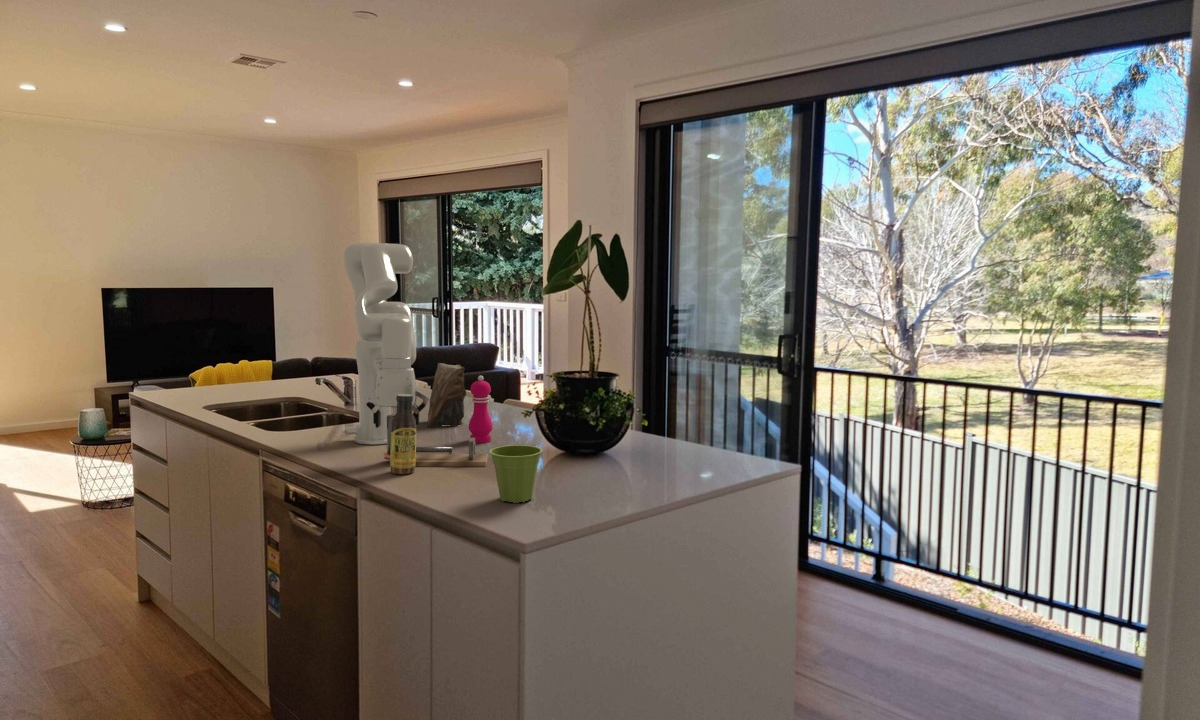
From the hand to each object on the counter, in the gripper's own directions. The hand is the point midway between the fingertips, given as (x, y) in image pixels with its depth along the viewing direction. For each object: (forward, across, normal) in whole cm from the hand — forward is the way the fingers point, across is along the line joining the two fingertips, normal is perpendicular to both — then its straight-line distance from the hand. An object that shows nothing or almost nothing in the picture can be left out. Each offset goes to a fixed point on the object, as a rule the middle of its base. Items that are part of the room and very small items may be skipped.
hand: (396, 426), depth 209 cm
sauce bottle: (+9, +4, -13) cm, 16 cm away
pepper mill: (+10, +20, +25) cm, 34 cm away
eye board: (+9, +13, -2) cm, 16 cm away
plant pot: (+7, +33, -37) cm, 50 cm away
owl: (+12, +5, +52) cm, 54 cm away
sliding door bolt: (+8, +6, -2) cm, 10 cm away
